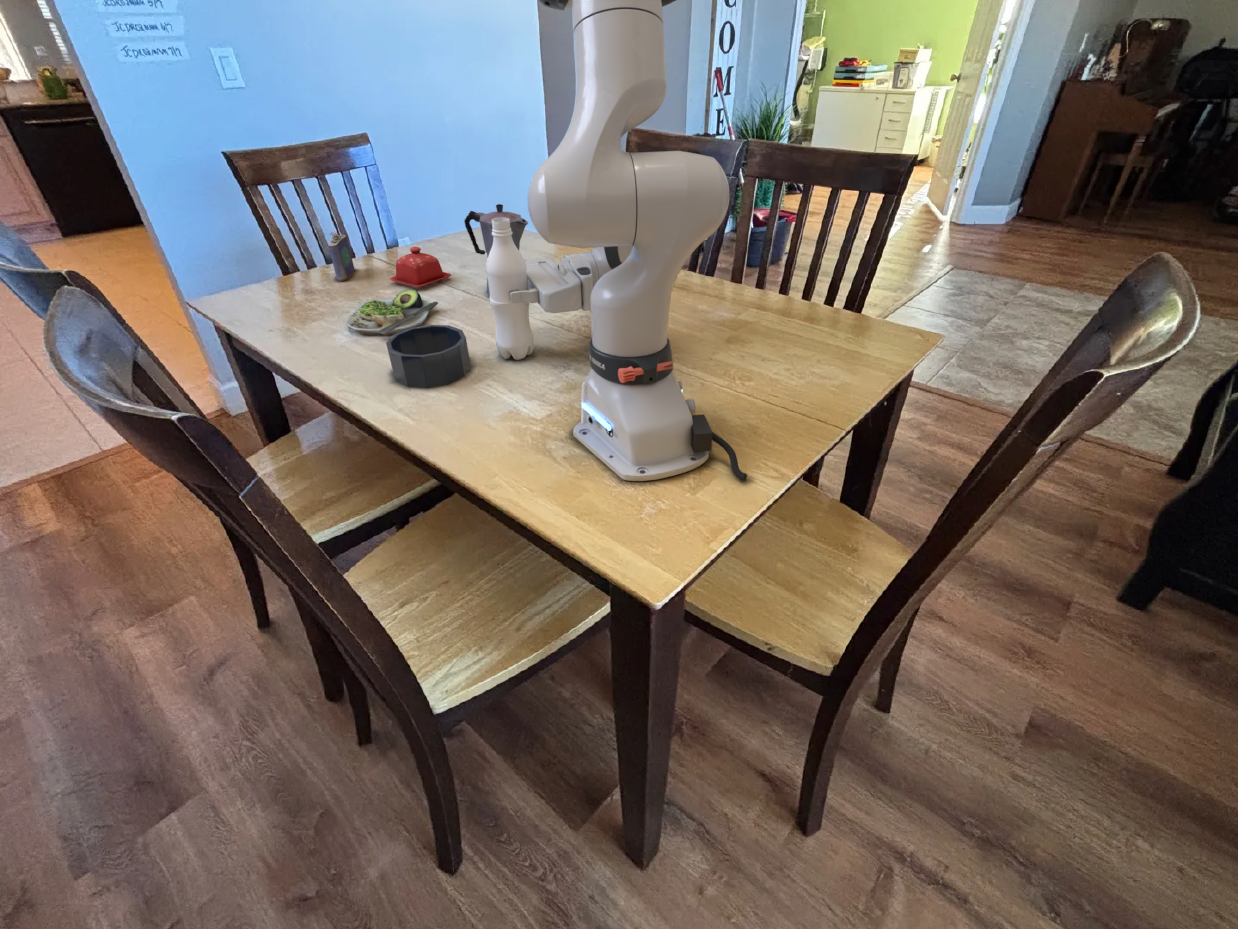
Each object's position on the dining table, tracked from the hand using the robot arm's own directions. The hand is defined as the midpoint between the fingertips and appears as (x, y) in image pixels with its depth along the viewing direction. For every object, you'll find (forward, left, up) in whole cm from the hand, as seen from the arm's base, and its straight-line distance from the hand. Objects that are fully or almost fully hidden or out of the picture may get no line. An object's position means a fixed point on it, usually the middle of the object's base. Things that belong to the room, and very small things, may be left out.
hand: (504, 289), depth 112 cm
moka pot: (+34, -7, -13) cm, 37 cm away
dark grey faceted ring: (0, +15, -13) cm, 20 cm away
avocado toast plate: (+28, +19, -13) cm, 36 cm away
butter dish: (+50, +10, -13) cm, 53 cm away
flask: (+63, +27, -13) cm, 70 cm away
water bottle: (0, -1, -13) cm, 13 cm away
